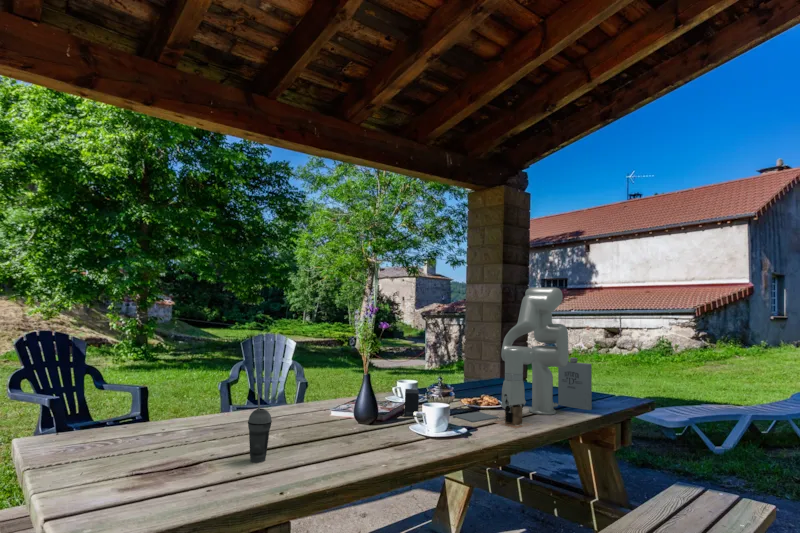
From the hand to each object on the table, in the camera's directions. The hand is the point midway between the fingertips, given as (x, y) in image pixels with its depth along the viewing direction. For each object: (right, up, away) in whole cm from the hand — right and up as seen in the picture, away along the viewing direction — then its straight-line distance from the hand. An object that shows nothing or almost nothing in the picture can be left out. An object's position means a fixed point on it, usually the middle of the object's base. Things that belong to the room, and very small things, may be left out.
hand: (513, 420), depth 204 cm
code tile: (0, -2, 0) cm, 2 cm away
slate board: (-15, -2, +9) cm, 17 cm away
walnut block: (0, -1, 0) cm, 1 cm away
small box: (-43, -3, +17) cm, 46 cm away
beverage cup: (-92, +5, -54) cm, 107 cm away
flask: (+41, -7, +44) cm, 61 cm away
